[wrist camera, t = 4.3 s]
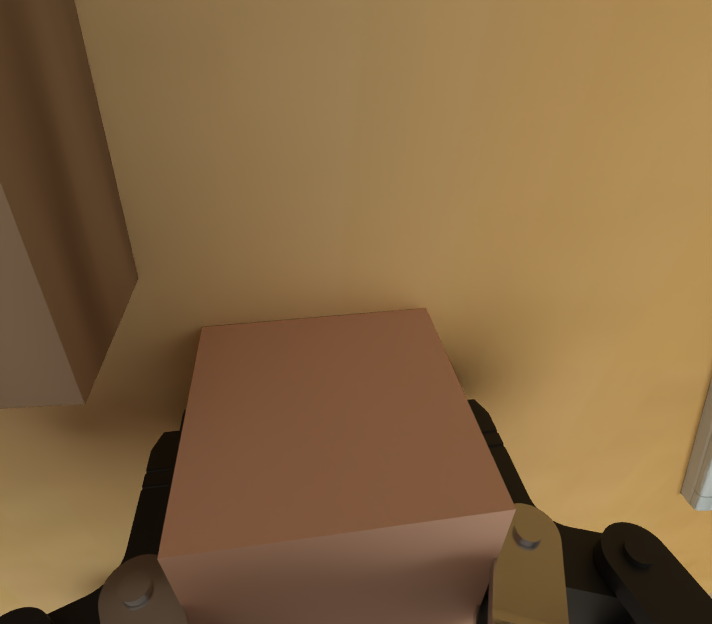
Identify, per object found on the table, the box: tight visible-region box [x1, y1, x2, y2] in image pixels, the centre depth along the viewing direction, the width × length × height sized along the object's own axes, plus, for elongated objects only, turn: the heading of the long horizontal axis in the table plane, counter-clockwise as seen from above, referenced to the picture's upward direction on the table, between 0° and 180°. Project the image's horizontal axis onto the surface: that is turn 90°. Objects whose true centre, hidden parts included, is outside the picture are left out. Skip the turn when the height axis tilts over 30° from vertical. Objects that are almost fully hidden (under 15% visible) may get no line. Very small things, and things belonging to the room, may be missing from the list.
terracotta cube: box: [157, 308, 516, 624], centre depth 11 cm, size 6×6×6 cm
